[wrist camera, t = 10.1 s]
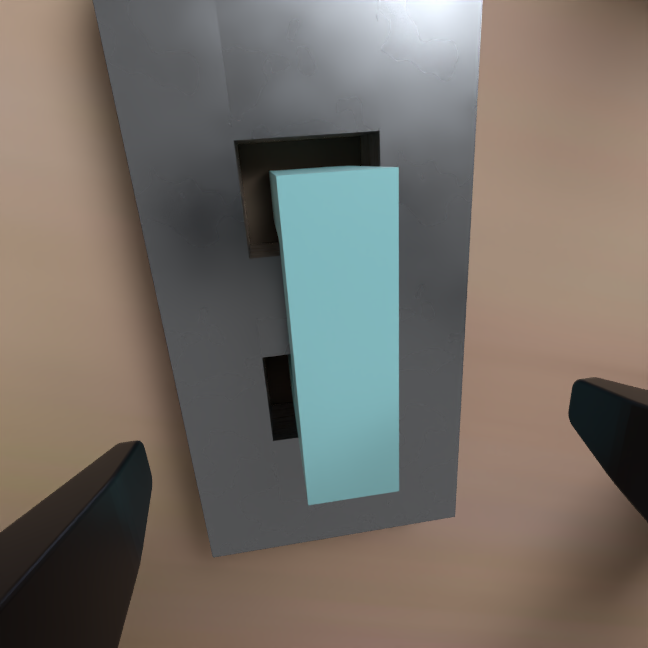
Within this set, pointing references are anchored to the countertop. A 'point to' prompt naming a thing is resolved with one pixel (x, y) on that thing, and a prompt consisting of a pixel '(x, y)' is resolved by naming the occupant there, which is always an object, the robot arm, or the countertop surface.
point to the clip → (342, 323)
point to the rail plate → (265, 259)
